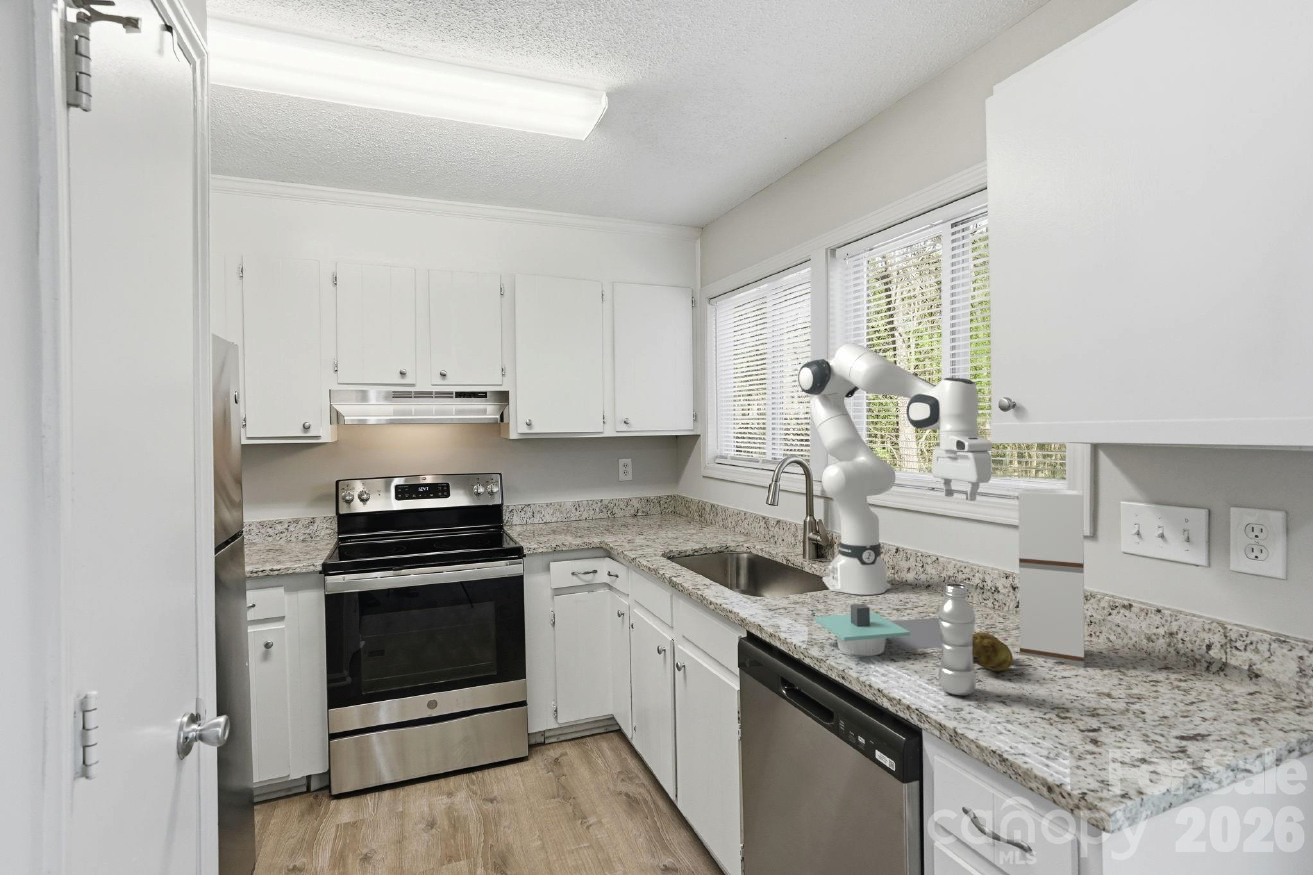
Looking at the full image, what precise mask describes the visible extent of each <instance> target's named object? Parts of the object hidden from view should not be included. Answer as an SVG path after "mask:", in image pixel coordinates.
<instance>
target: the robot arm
mask: <svg viewBox="0 0 1313 875" xmlns="http://www.w3.org/2000/svg"><path fill="white" fill-rule="evenodd" d="M797 375H798V376H797V381H798V385H799V387H800V389H801V390H802V392H804V394H807V395H811V396H812V395H813V397H812V398H811V399H810V400H809V410H810V414H811V419H812V421H813V425H814V427H815V429H816V431H817V434H818V436H819V439H820V441H821V442H822V445H823V447H824V450H825V451H826V452H827V454H829V455H830V456H831V457H833V458H835V459H836V460H837V461H838V462H836V463H833V464H831V465H829V466H827V467H826V468H824V470H823V473H822V476H821V484H822V488H823V490H824V492H825V493H826V494H827V495H828V496H829V497H831V498H832V500H833V502H834V504H835V506H836V509H837V511H838V516H839V521H840V522H839V524H840V525H839V526H840V542H838V543H839V544H838V552H837V553H838V554H837V556H835V558H833V560H832V561H831V562H830V564H829V565H827V570H826V571H827V574H829V575H826V576H823V577H822V582H824V584H825V586H826V587H827V588H828V589H829V590H830V591H831V592H837V593H844V594H845V593H846V594H851V595H863V596H864V595H866V596H867V595H879V594H882V593H885V592H886V591H887V590H889V589H891V588H892V587H891V586H892V585H891V583H888V581H887V570H886V562H885V560H884V559H882V557H881V555H882V544H881V542H880V519H879V517H878V515H877V514H876V512H874V511H873V510H872V509H871V507H870V505H869V503H868V497H872V496H879V495H882V494H884V493H886V492H888V491H891V490H892V489H893V487H894V485H895V483H896V480H897V479H896V477H897V476H896V472H895V469H894V468H893V465H891V464H890V463H889V462H887V461H885V460H884V459H882V458H880V457H879V456H878V455H877V453H875V452H874V451H873V450H872V449H871V447H869V446H868V444H867V443H866V442H865V440H864V439H863V438H862V436H861V435H860V433H859V431H858V429H857V427H856V425H855V423H854V422H853V419H852V417H851V415H850V413H849V410H848V408H846V404H845V398H847V399H849V398H852V397H853V396H854V395H855V393H856V392H858V390H861V391H864V392H866V393H868V394H872V395H878V396H879V395H880V396H881V395H883V396H896V397H903V398H907V399H909V400H908V403H907V405H906V411H905V412H906V417H907V420H908V422H909V423H910V425H911V426H912V427H914V428H915V429H919V430H924V431H927V430H928V431H930V430H933V431H934V430H938V431H939V442H938V443H937V445H936V446H935V449H934V451H933V452H932V457H931V458H932V459H931V474H932V475H931V476H932V477H934V478H939V479H940V484H941V486H942V489H943V495H944V497H947V498H948V497H949V498H952V497H954V495H955V493H954V492H955V490H954V489H953V488H952V482H953V481H960V482H967V487H968V491H967V492H966V493H965V500H966V501H969V502H973V501H974V502H975V501H976V500H977V493H978V491H979V490H980V487H981V486H980V484H983V483H984V484H985V483H989V482H990V480H991V478H992V468H993V467H992V465H993V464H992V462H993V461H992V455H991V453H990V452H991V451H992V449H993V446H992V445H993V444H992V442H991V441H989V440H988V439H986V438H984V437H983V436H982V435H980V434H979V431H980V430H979V429H980V428H979V426H978V421H977V420H978V416H979V398H978V397H979V396H978V389H977V387H976V384H975V382H974V381H973V380H971V379H968V378H963V377H962V378H961V377H946V378H942V379H941V380H940V382H939V383H938V384H937V385H935V384H933V383H932V382H930V381H928V380H926V379H924V378H922V377H919V376H918V375H916V374H913V373H911V372H909V371H908V370H906V369H905V368H902V367H901V366H899V365H897V364H895V363H894V362H892V361H891V360H888V359H887V358H886V357H884V356H882V355H881V354H879V353H878V352H875V350H872V349H871V348H869V347H865V346H863V345H860V344H857V343H853V342H849V343H846V344H845V343H844V344H843V345H842V346H840V347H839V348H838V349H837V350H836V352H835V354H834V357H832V358H821V359H813V360H811V361H808V362H806V363H804V364H803V365H802V366H801V367H800V369H799V371H798V374H797ZM989 451H990V452H989Z"/></svg>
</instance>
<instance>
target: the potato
mask: <svg viewBox="0 0 1313 875" xmlns="http://www.w3.org/2000/svg"><path fill="white" fill-rule="evenodd" d="M972 646H973V647H972V653H973V663H974V665H976V664H977V665H978V666H980V667H982V668H983V669H987V670H988V669H989V670H991V671H993V672H1004V671H1007V670H1008V669H1010V667H1011V666H1012V663H1013V660H1014V659H1013V658H1014V657H1013V654H1012V651H1011V649H1010V648H1009V646H1008V645H1007V644H1005V643H1004V642H1002V641H1001V640H1000V639H998V638H997V637H996V636H994V635H993V634H990V633H988V632H980V631H979V632H976V633H973V644H972Z"/></svg>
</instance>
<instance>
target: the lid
mask: <svg viewBox="0 0 1313 875" xmlns="http://www.w3.org/2000/svg"><path fill="white" fill-rule="evenodd" d="M870 609H871V608H870V606H868V605H865V604H864V603H858V604H856V603H855V604H850V614H837V615H825V616H814V617H813V620H814V622H816V623H817V624H819V625H820V626H822V627H823V628H824V629H826V630H828V631H829V632H830V633H831V634H833V635H834V636H835V637H836V636H837V637H839V638H840V639H842V640H843V641H853V640H865V639H877V638H886V639H887V638H889V637H901V636H910V632H909V631H907V630H906V629H904V628H902V627H900V626H898V625H897V624H895V623H893V622H891V621H892V620H889V619H888V618H886V617H884V616H882V615H881V614H878V613H876V612H871V611H870ZM837 637H836V638H837Z"/></svg>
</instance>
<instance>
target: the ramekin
mask: <svg viewBox="0 0 1313 875" xmlns="http://www.w3.org/2000/svg"><path fill="white" fill-rule="evenodd" d="M835 637H836V643H837V647H838V649H839V650H840V652H841V653H843V654H844V655H846V656H850V657H853V655H855V656H862V657H863V656H865V657H867V656H868V657H870V656H878V655H880V654H882V653H884V650H885V648H886V647H885V646H886V639H887V638H877V639H865V640H853V641H843V640H842V639H840V638H839V637H837V636H836V635H835Z"/></svg>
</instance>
